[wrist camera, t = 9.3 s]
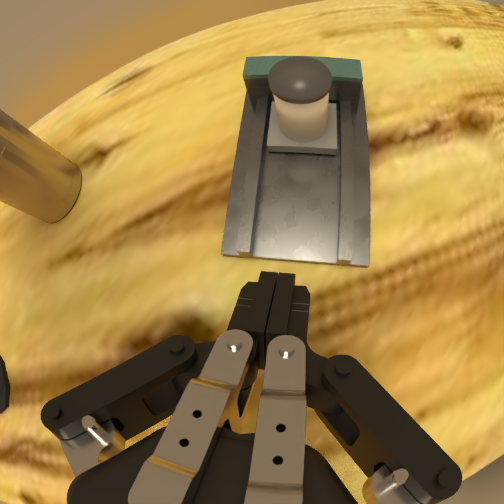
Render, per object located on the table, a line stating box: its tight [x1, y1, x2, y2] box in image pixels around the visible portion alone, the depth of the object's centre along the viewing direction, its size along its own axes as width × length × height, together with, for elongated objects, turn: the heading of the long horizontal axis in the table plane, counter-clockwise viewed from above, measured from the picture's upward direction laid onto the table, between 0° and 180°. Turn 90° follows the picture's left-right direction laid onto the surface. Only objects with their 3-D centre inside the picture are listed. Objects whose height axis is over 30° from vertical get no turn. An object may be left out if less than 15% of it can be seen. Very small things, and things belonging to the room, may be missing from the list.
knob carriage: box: [267, 56, 337, 155], centre depth 27 cm, size 7×6×8 cm
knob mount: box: [221, 56, 370, 267], centre depth 28 cm, size 14×22×7 cm, turn 173°
